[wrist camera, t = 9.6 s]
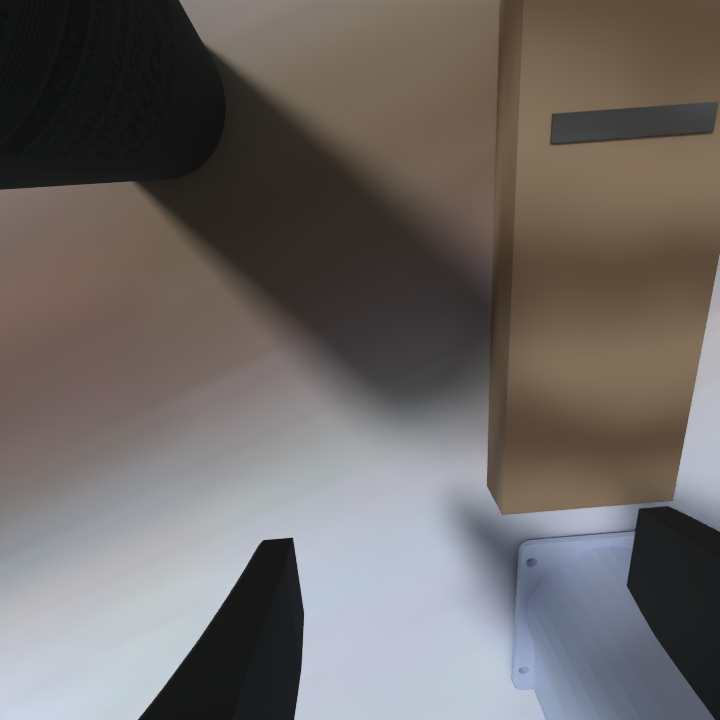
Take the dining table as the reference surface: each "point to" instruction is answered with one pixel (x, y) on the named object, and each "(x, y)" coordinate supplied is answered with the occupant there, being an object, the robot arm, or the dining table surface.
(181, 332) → the dining table surface
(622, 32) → the body
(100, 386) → the dining table surface
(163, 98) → the drinking cup
